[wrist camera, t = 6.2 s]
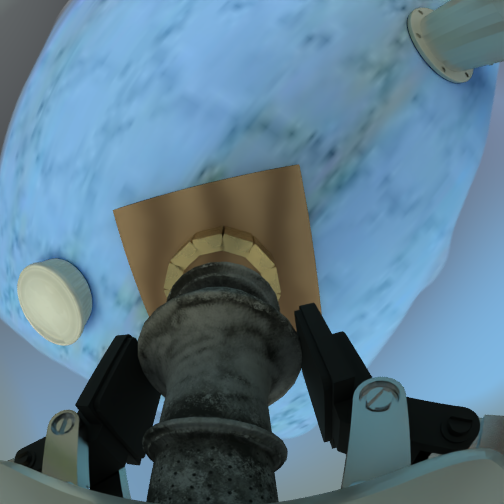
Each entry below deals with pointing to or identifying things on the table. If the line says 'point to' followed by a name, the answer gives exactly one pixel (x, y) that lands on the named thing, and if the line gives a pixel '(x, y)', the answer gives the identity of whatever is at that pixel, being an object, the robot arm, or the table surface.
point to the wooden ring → (225, 241)
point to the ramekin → (55, 300)
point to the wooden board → (224, 214)
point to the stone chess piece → (217, 387)
